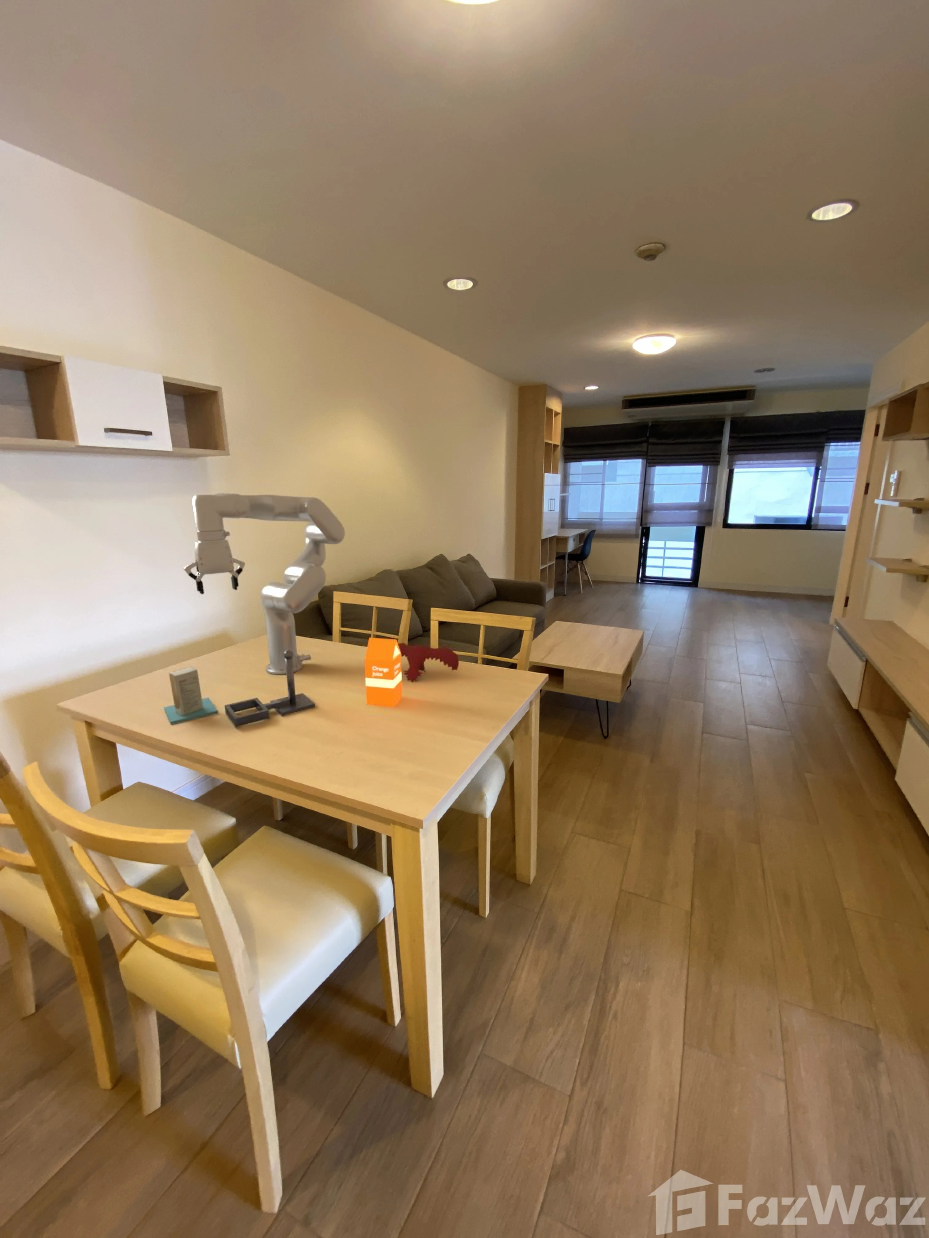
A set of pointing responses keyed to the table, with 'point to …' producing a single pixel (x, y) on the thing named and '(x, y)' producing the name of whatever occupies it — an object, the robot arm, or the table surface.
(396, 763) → the table surface
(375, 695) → the orange juice
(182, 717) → the teal mat
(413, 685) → the table surface
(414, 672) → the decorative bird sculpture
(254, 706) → the ring stand
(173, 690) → the skincare box
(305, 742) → the table surface
